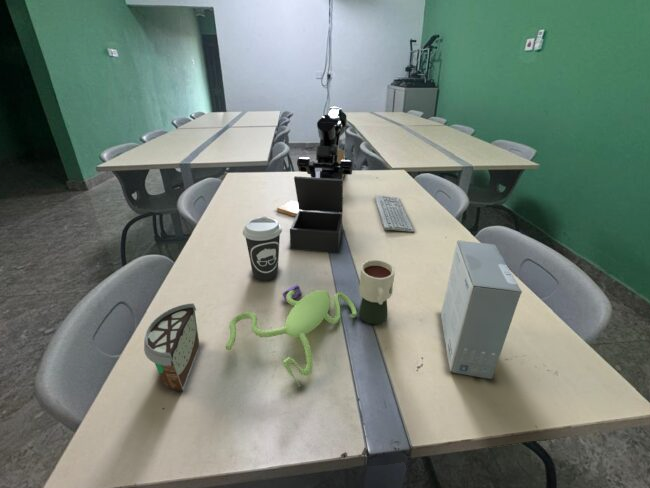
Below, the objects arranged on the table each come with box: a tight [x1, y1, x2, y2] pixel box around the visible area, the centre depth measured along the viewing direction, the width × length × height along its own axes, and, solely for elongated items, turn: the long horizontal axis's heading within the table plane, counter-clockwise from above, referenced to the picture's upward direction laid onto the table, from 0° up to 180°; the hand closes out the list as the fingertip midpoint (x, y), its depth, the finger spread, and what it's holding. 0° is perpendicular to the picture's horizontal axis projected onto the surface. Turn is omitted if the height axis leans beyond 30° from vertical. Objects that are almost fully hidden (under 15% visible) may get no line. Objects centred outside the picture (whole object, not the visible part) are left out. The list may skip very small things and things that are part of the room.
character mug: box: [358, 259, 396, 325], centre depth 68 cm, size 11×7×13 cm, turn 4°
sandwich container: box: [337, 149, 346, 178], centre depth 160 cm, size 9×15×15 cm, turn 172°
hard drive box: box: [440, 240, 523, 380], centre depth 61 cm, size 16×8×20 cm, turn 170°
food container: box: [143, 303, 201, 392], centre depth 56 cm, size 12×6×10 cm, turn 5°
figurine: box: [225, 283, 358, 387], centre depth 66 cm, size 18×27×6 cm
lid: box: [293, 175, 344, 214], centre depth 99 cm, size 15×15×1 cm
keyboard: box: [374, 194, 415, 233], centre depth 121 cm, size 29×10×2 cm, turn 0°
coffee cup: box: [242, 216, 283, 282], centre depth 81 cm, size 10×10×15 cm
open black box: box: [289, 210, 344, 254], centre depth 100 cm, size 14×15×7 cm
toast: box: [276, 199, 308, 218], centre depth 121 cm, size 9×9×2 cm
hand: (322, 188), depth 106 cm, fingers open, 5 cm apart
